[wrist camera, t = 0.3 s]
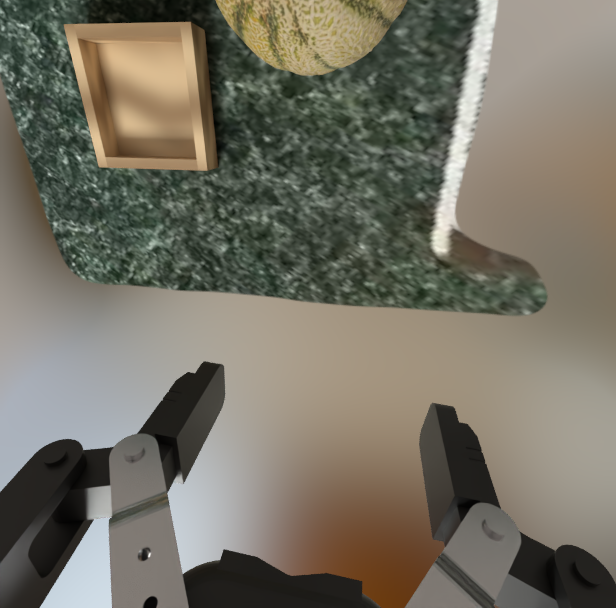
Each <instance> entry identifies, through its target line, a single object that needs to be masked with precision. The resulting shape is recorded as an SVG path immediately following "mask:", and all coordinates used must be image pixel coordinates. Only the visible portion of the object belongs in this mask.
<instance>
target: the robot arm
mask: <svg viewBox="0 0 616 608" xmlns="http://www.w3.org/2000/svg"><path fill="white" fill-rule="evenodd" d="M224 398H225V379H224V366H223V365H222V364H216V363H210V362H203V363H202V364H201V365H200V367H199V368H198V370H197V371H196V373H190V372H187V373H186V374H184V375H183V376H182V377H180V378H179V379H177V380H176V381H175V383H174V384H173V386H172V387H171V388H170V390H169V392H168V393H167V394H166V395H165V397H164V398H163V401H161V402H160V403H159V405H158V406H157V407H156V409H155V410H154V412H153V413H152V414H151V416H150V417H149V419H148V420H147V421H146V423H145V424H144V425H143V427H142V428H141V430H140V431H139V432H138V433H137V434H135V435H131V436H128V437H126V438H124V439H123V440H121V441H120V442H118V443H117V444H116V445H115V446H114V447H111V448H102V449H91V450H83V448H82V445H81V444H80V443H79V442H78V441H76V440H72V439H63V440H58V441H55V442H52V443H50V444H48V445H46V446H44V447H43V448H41V449H40V450H39V451H38V452H36V453H35V454H34V456H33V457H32V458H31V459H30V460H29V461H28V462H27V463H26V464H25V465H24V467H23V468H22V469H21V470H20V471H19V472H18V473H17V474H16V475H15V476H14V478H13V479H12V480H11V481H10V482H9V483H8V484H7V486H5V488H4V489H3V490H2V491H1V492H0V608H40V606H41V604H42V603H43V601H44V600H45V598H46V596H47V595H48V593H49V592H50V590H51V588H52V587H53V585H54V583H55V582H56V580H57V579H58V577H59V575H60V574H61V572H62V570H63V569H64V567H65V566H66V564H67V562H68V561H69V559H70V558H71V556H72V554H73V553H74V551H75V549H76V548H77V546H78V545H79V543H80V541H81V540H82V538H83V536H84V535H85V533H86V532H87V530H88V528H89V527H90V525H91V523H92V522H93V520H94V519H98V518H106V517H112V518H110V519H109V545H110V569H111V592H112V608H381V607H380V606H379V605H378V604H376V603H375V602H374V601H373V600H371V599H370V598H369V597H367V596H366V595H364V594H362V581H359V580H354V579H350V578H346V577H341V576H336V575H332V574H328V573H325V574H311V575H299V576H290V575H287V574H285V573H283V572H282V571H280V570H278V569H276V568H275V567H273V566H271V565H270V564H268V563H266V562H265V561H263V560H261V559H259V558H258V557H255V556H250V555H246V554H241V553H237V552H233V551H229V550H223V553H222V556H221V560H218V561H212V562H207V563H204V564H201V565H199V566H196V567H194V568H193V569H190V570H189V571H187V572H185V573H184V574H182V569H181V564H180V559H179V554H178V548H177V543H176V537H175V532H174V528H173V522H172V516H171V511H170V506H169V500H168V495H167V493H168V491H169V489H170V487H171V485H172V483H173V482H175V483H180V484H184V482H185V480H186V478H187V476H188V474H189V472H190V470H191V468H192V466H193V464H194V462H195V460H196V458H197V456H198V454H199V452H200V450H201V448H202V446H203V444H204V442H205V440H206V438H207V436H208V435H209V432H210V430H211V429H212V427H213V425H214V423H215V421H216V419H217V417H218V415H219V413H220V411H221V409H222V406H223V403H224ZM419 446H420V453H421V461H422V467H423V475H424V481H425V489H426V496H427V503H428V510H429V517H430V524H431V530H432V538H433V539H434V540H439V541H443V542H444V544H445V549H444V550H443V552H442V553H441V555H440V556H439V557H438V558H437V559H436V561H435V562H434V564H433V565H432V567H431V569H430V570H429V572H428V573H427V575H426V576H425V578H424V579H423V581H422V582H421V584H420V586H419V587H418V588H417V590H416V592H415V593H414V595H413V596H412V598H411V599H410V601H409V602H408V604H407V605H406V607H405V608H495V607H494V604H495V605H497V606H498V607H500V608H616V584H615V582H614V580H613V578H612V576H611V575H610V573H609V572H608V571H607V569H606V568H605V567H604V566H603V565H602V564H601V563H600V562H599V561H598V560H597V559H596V558H595V557H594V556H592V555H591V554H590V553H588V552H586V551H585V550H583V549H581V548H579V547H576V546H573V545H562V546H560V547H559V548H558V549H557V550H556V551H554V550H553V549H551V548H549V547H547V546H545V545H543V544H541V543H539V542H537V541H535V540H533V539H531V538H529V537H528V536H526V535H524V534H523V533H521V532H520V531H519V530H518V528H517V526H516V524H515V522H514V521H513V520H512V519H511V518H510V516H508V514H506V513H505V512H504V511H503V510H501V507H500V505H499V502H498V499H497V496H496V493H495V490H494V487H493V484H492V481H491V477H490V474H489V471H488V468H487V465H486V464H485V459H484V456H483V453H482V452H481V447H480V444H479V441H478V437H477V436H476V435H475V433H474V432H473V430H472V429H471V428H470V427H469V426H468V424H465V423H459V421H458V418H457V414H456V411H455V408H454V407H452V406H447V405H441V404H436V403H432V404H431V405H430V408H429V411H428V413H427V416H426V419H425V421H424V424H423V427H422V429H421V434H420V443H419Z"/></svg>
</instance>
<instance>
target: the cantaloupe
mask: <svg viewBox="0 0 616 608" xmlns="http://www.w3.org/2000/svg"><path fill="white" fill-rule="evenodd" d="M216 2H217V5H218V7H219V9H220V10H221V12H222V14H223V16H224V17H225V19H226V21H227V22H228V24H229V25H230V26H231V28H232V29H233V30H234V31H235V32H236V33H237V35H238V36H239V37H240V38H241V39H242V40H243V41H244V42H245V43H246V45H247V46H248V47H249V48H250V49H251V50H252V51H253V52H254V53H255V54H256V55H257V56H259V57H260V58H261V59H263V60H264V61H265V62H267V63H268V64H270V65H271V66H273V67H275V68H278V69H282V70H287V71H291V72H294V73H296V74H299V75H311V76H312V75H317V74H318V75H323V74H326V73H328V72H331V71H334V70H336V69H338V68H342V67H345V66H347V65H350V64H352V63H354V62H356V61H357V60H359V59H360V58H362V57H364V56H365V55H366V54H367V53H369V52H370V51H372V49H373V48H374V46H376V45H377V44H378V43H379V42H380V40H381V39H382V37H383V36H384V35H385V33H386V32H387V30H388V29H389V27H390V25H391V24H392V23H393V21H394V20H395V19H396V18H397V16H398V15H399V14H400V13H401V11H402V9H403V8H404V6H405V4H406V2H407V0H216Z"/></svg>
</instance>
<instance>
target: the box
mask: <svg viewBox="0 0 616 608" xmlns="http://www.w3.org/2000/svg"><path fill="white" fill-rule="evenodd" d="M64 28H65V32H66V36H67V40H68V44H69V48H70V52H71V56H72V60H73V64H74V68H75V72H76V76H77V80H78V84H79V88H80V92H81V96H82V100H83V104H84V108H85V112H86V117H87V121H88V125H89V129H90V133H91V137H92V141H93V145H94V149H95V153H96V157H97V161H98V165H99V167H111V168H142V169H173V170H205V171H208V170H211V169H215V168H218V160H217V150H216V140H215V130H214V120H213V109H212V99H211V89H210V79H209V69H208V59H207V49H206V39H205V30H203V29H202V28H200V27H198V26H197V25H195V24H193V23H192V22H158V23H108V24H64Z"/></svg>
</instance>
